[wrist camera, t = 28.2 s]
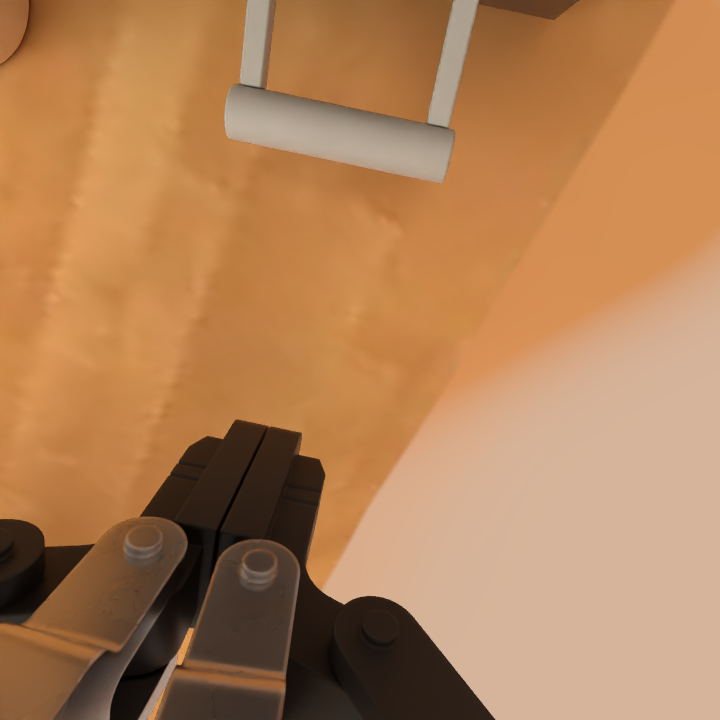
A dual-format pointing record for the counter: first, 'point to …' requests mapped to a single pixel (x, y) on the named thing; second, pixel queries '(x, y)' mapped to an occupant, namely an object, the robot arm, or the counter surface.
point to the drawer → (353, 126)
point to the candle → (12, 25)
